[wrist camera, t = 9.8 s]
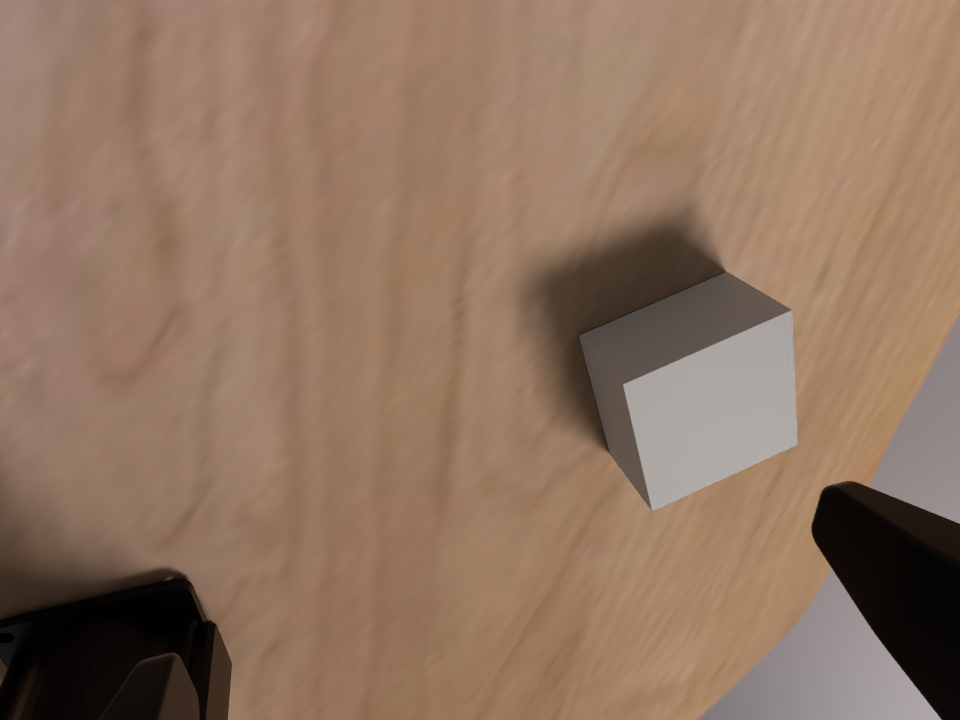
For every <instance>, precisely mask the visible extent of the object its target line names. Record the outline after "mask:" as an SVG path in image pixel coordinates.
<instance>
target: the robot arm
mask: <svg viewBox="0 0 960 720" xmlns="http://www.w3.org/2000/svg"><path fill="white" fill-rule="evenodd" d="M811 529H812V535H813V538H814V541H815V543H816V545H817V546H818V548H819V549H820V551H821V552H822V554H823V555H824V557H825V558H826V560H827V561H828V563H829V565H830V566H831V568H832V569H833V571H834V572H835V574H836V575H837V577H838V578H839V579H840V581H841V583H842V584H843V586H844V587H845V589H846V591H847V592H848V593H849V595H850V597H851V598H852V600H853V601H854V603H855V604H856V606H857V608H858V609H859V611H860V612H861V613H862V615H863V616H864V618H865V620H866V621H867V623H868V624H869V625H870V627H871V629H872V630H873V631H874V633H875V634H876V636H877V637H878V638H879V640H880V641H881V642H882V644H883V645H884V646H885V648H886V649H887V650H888V652H889V653H890V654H891V656H892V657H893V658H894V659H895V661H896V662H897V663H898V665H899V666H900V667H901V668H902V670H903V671H904V672H905V673H906V675H907V676H908V677H909V679H910V680H911V681H912V682H913V684H914V685H915V686H916V687H917V689H918V690H919V691H920V693H921V694H922V695H923V696H924V698H925V699H926V700H927V701H928V703H929V704H930V705H931V707H932V708H933V709H934V710H935V712H936V713H937V714H938V716H939V717H940V718H941V719H942V720H960V524H959V523H956V522H954V521H951V520H949V519H946V518H944V517H942V516H939V515H937V514H934V513H931V512H929V511H927V510H924V509H922V508H919V507H917V506H914V505H912V504H909V503H907V502H904V501H902V500H899V499H897V498H894V497H891V496H889V495H887V494H884V493H882V492H879V491H876V490H874V489H872V488H869V487H867V486H864V485H862V484H859V483H857V482H853V481H846V482H841V483H837V484H833V485H829V486H827V487H825V488H824V489H823V490H822V492H821V494H820V498H819V501H818V505H817V508H816V512H815V515H814V519H813V522H812V527H811ZM174 592H180V593H178V594H176V593H174ZM0 658H1V660H2V661H3V663H4V664H5V665H6V667H7V671H6V673H5V676H4V678H3V680H2V683H1V685H0V720H228V708H229V695H230V681H231V668H232V663H231V660H230V657H229V655H228V652H227V650H226V647H225V645H224V642H223V640H222V637H221V635H220V632H219V630H218V627H217V625H216V624H215V623H214V622H212V621H211V620H208V621H207V619H206V616H205V614H204V612H203V609H202V607H201V604H200V602H199V599H198V597H197V594H196V592H195V589H194V587H193V585H192V583H191V582H190V581H188V580H186V579H172V580H168V581H164V582H160V583H155V584H151V585H147V586H142V587H138V588H134V589H129V590H125V591H121V592H117V593H112V594H108V595H104V596H99V597H95V598H91V599H87V600H82V601H78V602H74V603H69V604H65V605H61V606H57V607H52V608H48V609H44V610H39V611H35V612H31V613H27V614H22V615H18V616H14V617H9V618H5V619H2V620H0Z"/></svg>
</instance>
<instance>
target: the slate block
mask: <svg viewBox="0 0 960 720" xmlns="http://www.w3.org/2000/svg"><path fill="white" fill-rule="evenodd" d="M579 339H580V343H581V347H582V350H583V354H584V358H585V362H586V365H587V369H588V373H589V377H590V381H591V384H592V388H593V392H594V396H595V399H596V403H597V407H598V411H599V414H600V418H601V422H602V426H603V430H604V433H605V437H606V441H607V445H608V448H609V452H610V455H611V456H612V457H613V459H614V460H615V461H616V463H617V464H618V466H619V467H620V468H621V470H622V471H623V472H624V474H625V475H626V476H627V478H628V479H629V480H630V482H631V483H632V484H633V486H634V487H635V489H636V490H637V491H638V493H639V494H640V495H641V497H642V498H643V499H644V501H645V502H646V503H647V505H648V506H649V508H650V509H651V510H652V511H654V510H656V509H658V508H660V507H663V506H665V505H667V504H669V503H671V502H674V501H676V500H678V499H680V498H682V497H685V496H687V495H689V494H691V493H693V492H695V491H698V490H700V489H702V488H704V487H706V486H709V485H711V484H713V483H715V482H717V481H719V480H722V479H724V478H726V477H728V476H730V475H733V474H735V473H737V472H739V471H741V470H743V469H746V468H748V467H750V466H752V465H754V464H757V463H759V462H761V461H763V460H765V459H768V458H770V457H772V456H774V455H776V454H778V453H781V452H783V451H785V450H787V449H789V448H792V447H794V446H796V445H797V422H796V397H795V372H794V348H793V323H792V310H791V309H789V308H788V307H786V306H784V305H782V304H781V303H779V302H777V301H776V300H774V299H772V298H771V297H769V296H767V295H765V294H764V293H762V292H760V291H759V290H757V289H755V288H754V287H752V286H750V285H749V284H747V283H745V282H743V281H742V280H740V279H738V278H737V277H735V276H733V275H732V274H730V273H728V272H725V273H723V274H720V275H718V276H716V277H713V278H711V279H709V280H706V281H704V282H702V283H699V284H697V285H695V286H692V287H690V288H688V289H686V290H683V291H681V292H679V293H676V294H674V295H672V296H669V297H667V298H665V299H662V300H660V301H658V302H655V303H653V304H651V305H649V306H646V307H644V308H642V309H639V310H637V311H635V312H632V313H630V314H628V315H625V316H623V317H621V318H618V319H616V320H614V321H611V322H609V323H607V324H605V325H602V326H600V327H598V328H595V329H593V330H591V331H588V332H586V333H584V334H581V335H579Z"/></svg>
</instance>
